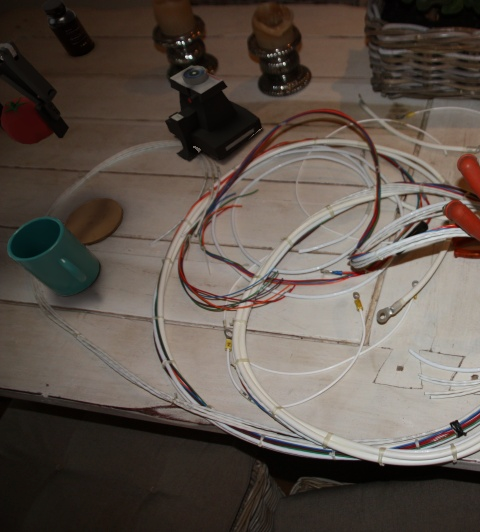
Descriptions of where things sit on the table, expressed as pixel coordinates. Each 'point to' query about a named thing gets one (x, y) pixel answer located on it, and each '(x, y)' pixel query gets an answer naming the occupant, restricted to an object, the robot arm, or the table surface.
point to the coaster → (95, 220)
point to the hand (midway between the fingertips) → (40, 133)
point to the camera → (208, 115)
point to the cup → (53, 256)
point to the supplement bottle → (67, 28)
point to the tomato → (24, 122)
